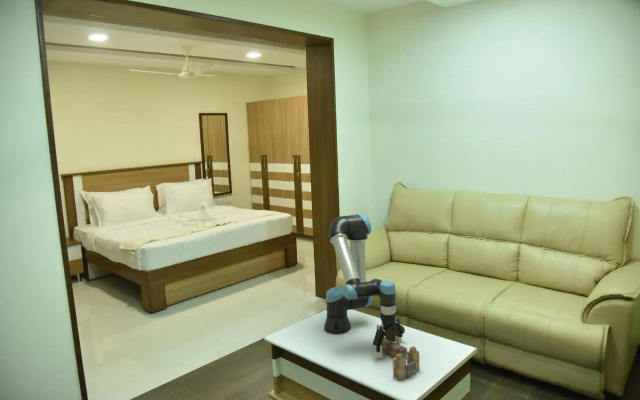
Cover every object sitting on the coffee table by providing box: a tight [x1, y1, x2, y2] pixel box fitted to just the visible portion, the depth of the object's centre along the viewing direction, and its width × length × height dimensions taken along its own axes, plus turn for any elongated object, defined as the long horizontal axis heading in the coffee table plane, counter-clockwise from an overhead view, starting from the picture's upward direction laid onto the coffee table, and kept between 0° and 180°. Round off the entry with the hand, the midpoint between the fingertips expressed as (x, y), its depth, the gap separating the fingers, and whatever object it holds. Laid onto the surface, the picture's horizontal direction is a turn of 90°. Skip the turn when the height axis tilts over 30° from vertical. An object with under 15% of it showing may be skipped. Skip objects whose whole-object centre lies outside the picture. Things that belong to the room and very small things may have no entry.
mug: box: [384, 324, 406, 342], centre depth 235 cm, size 12×8×9 cm, turn 43°
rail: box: [381, 337, 408, 361], centre depth 219 cm, size 15×4×6 cm, turn 39°
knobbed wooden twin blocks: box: [392, 345, 420, 382], centre depth 201 cm, size 5×14×11 cm, turn 129°
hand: (388, 353), depth 221 cm, fingers open, 13 cm apart
